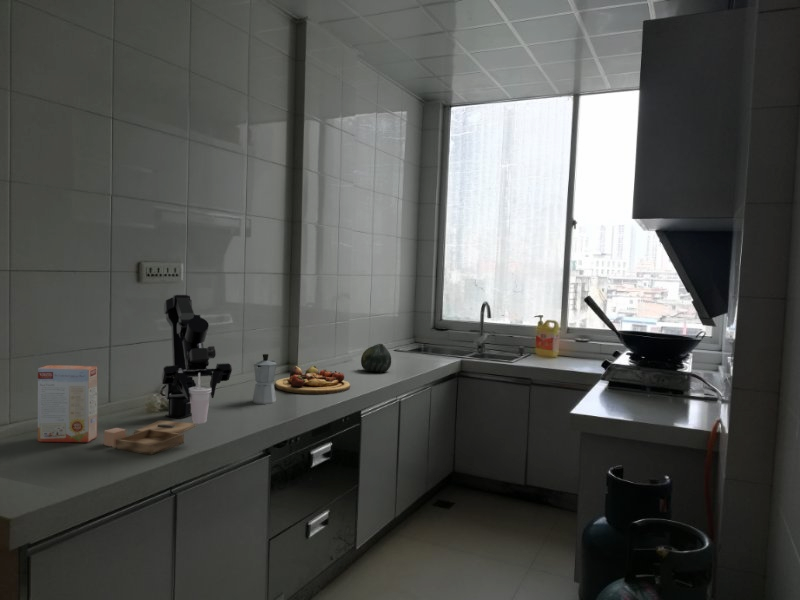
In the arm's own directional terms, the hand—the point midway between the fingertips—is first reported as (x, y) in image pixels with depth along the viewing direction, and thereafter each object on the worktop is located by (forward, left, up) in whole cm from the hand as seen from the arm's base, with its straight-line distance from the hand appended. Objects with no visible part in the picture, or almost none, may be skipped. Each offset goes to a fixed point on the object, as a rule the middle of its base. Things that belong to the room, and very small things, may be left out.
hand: (200, 398), depth 171 cm
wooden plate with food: (-13, +89, -14) cm, 91 cm away
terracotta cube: (-21, -10, -9) cm, 25 cm away
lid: (-19, +8, -13) cm, 25 cm away
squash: (-5, +139, -13) cm, 140 cm away
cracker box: (-35, -13, -13) cm, 40 cm away
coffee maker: (-15, +56, -13) cm, 59 cm away
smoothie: (-1, +1, -7) cm, 7 cm away
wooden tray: (-11, -7, -13) cm, 19 cm away
